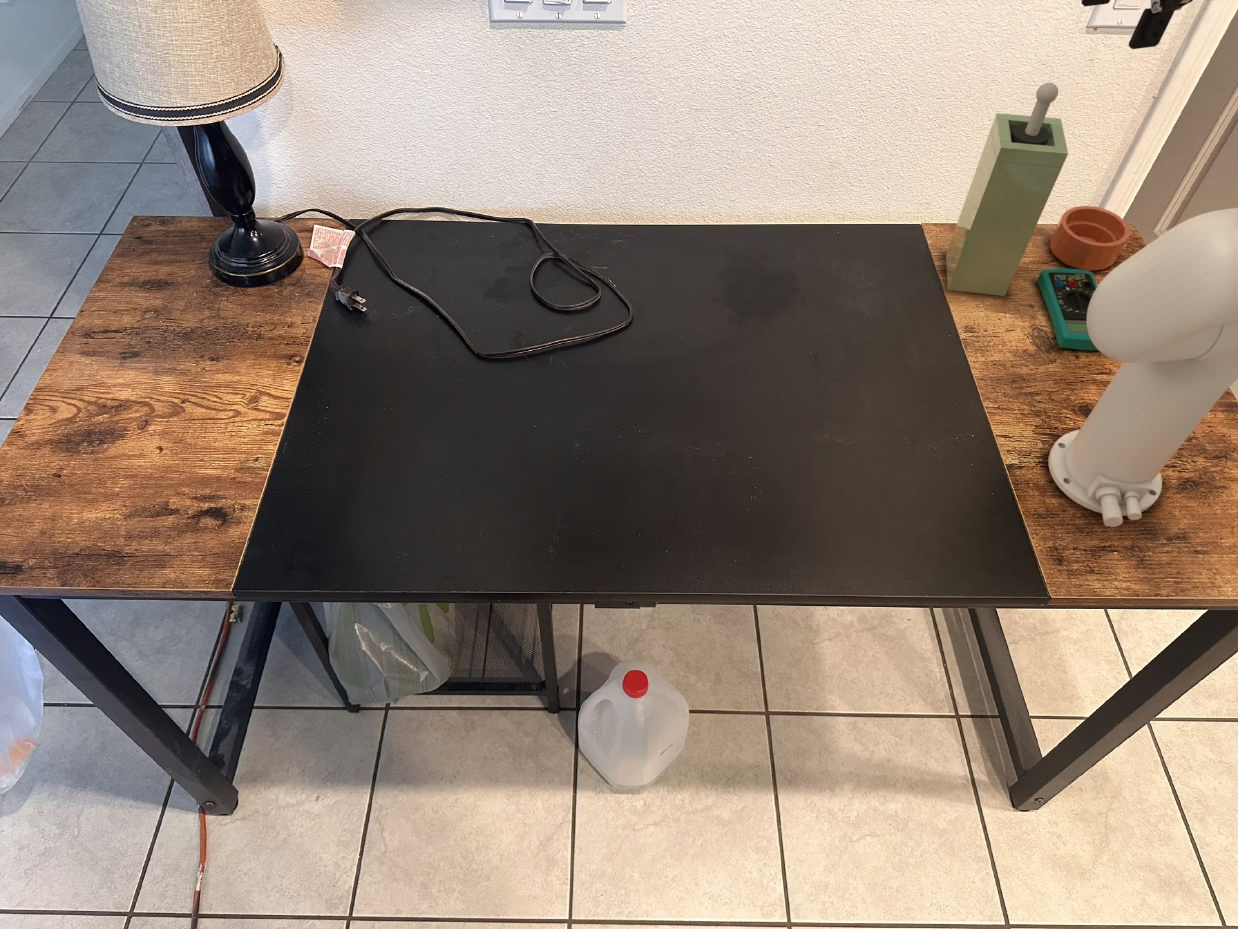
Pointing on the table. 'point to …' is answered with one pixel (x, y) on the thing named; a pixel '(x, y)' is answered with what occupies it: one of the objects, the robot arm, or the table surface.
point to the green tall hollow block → (1003, 206)
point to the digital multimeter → (1069, 304)
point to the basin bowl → (1089, 238)
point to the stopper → (1036, 118)
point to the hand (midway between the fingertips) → (1117, 24)
